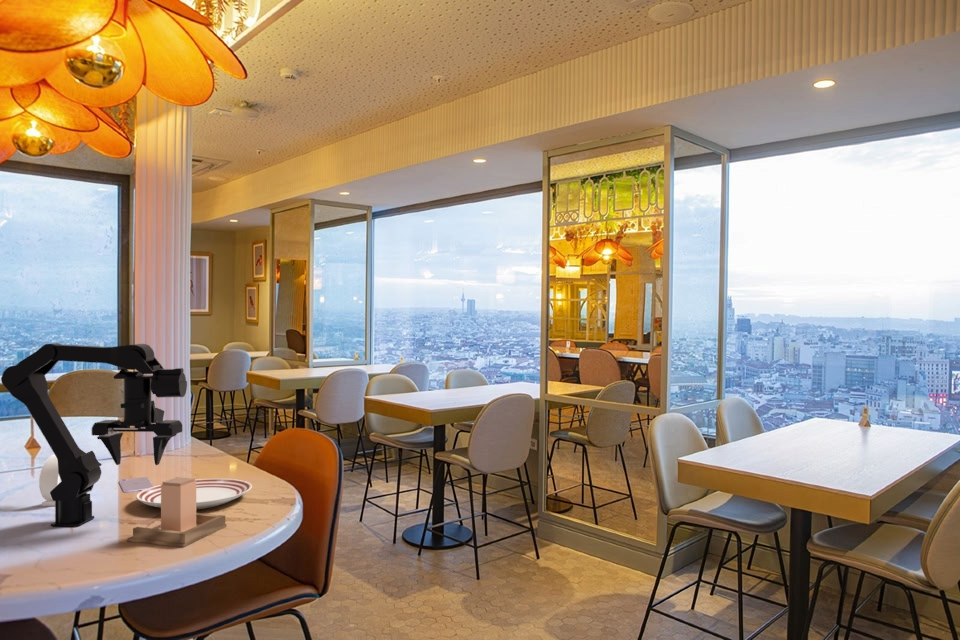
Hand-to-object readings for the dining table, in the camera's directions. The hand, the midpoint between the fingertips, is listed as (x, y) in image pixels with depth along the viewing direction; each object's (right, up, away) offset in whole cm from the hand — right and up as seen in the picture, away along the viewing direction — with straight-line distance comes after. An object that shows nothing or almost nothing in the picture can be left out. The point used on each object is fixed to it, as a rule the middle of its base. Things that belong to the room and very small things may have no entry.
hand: (137, 464), depth 154 cm
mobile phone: (-17, -13, +32) cm, 39 cm away
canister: (+14, -12, -9) cm, 21 cm away
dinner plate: (+6, -13, +17) cm, 22 cm away
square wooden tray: (+14, -13, -9) cm, 21 cm away
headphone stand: (-28, -13, +14) cm, 34 cm away
